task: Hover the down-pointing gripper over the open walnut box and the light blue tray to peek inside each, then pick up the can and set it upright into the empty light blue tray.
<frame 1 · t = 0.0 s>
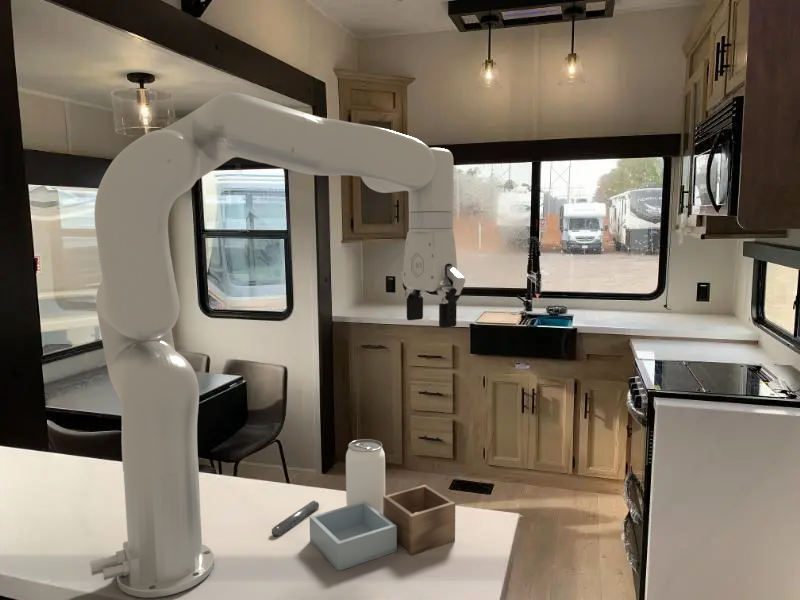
hand: (430, 323, 105), 31 cm above the kitchen island, fingers open, 9 cm apart
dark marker: (296, 522, 99), on the kitchen island
walnut box: (418, 536, 94), on the kitchen island
can: (366, 515, 101), on the kitchen island
light blue tray: (352, 546, 91), on the kitchen island
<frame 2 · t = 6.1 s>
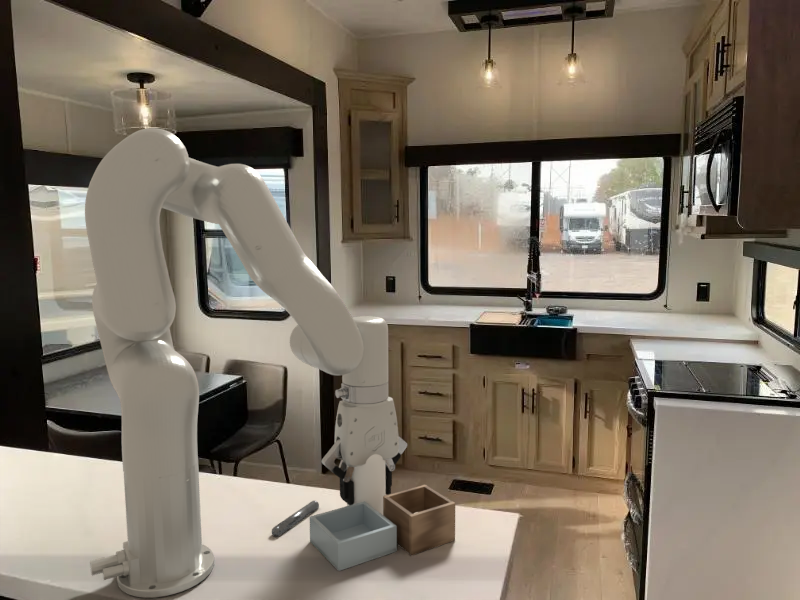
hand: (366, 495, 101), 3 cm above the kitchen island, fingers closed on can, 6 cm apart
can: (366, 514, 101), on the kitchen island, touching gripper
everything else where it was.
when the fingers open (6 cm above the kitchen island, at t = 11.6 s): can drops 2 cm, resting on light blue tray.
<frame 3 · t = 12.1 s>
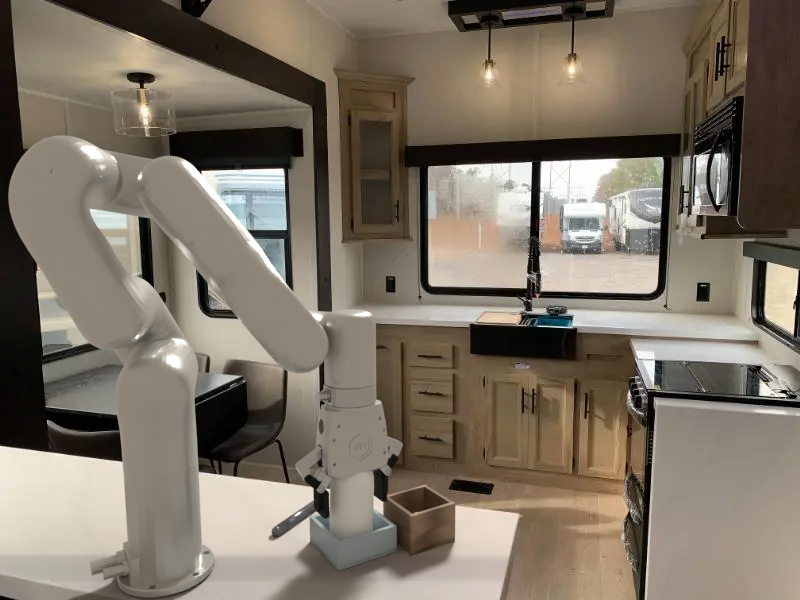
hand: (352, 506, 90), 6 cm above the kitchen island, fingers open, 9 cm apart
can: (351, 543, 91), point 1 cm above the kitchen island, touching light blue tray
everything else where it was.
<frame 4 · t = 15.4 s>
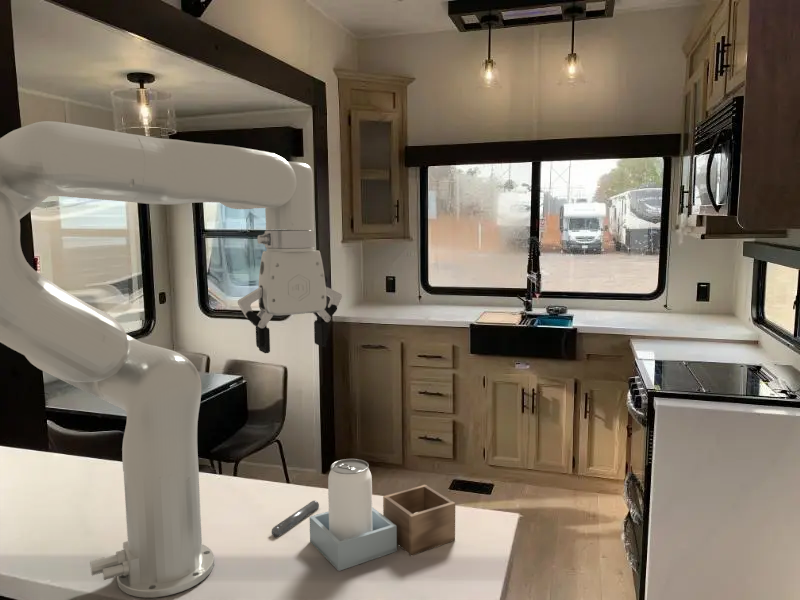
hand: (293, 348, 98), 28 cm above the kitchen island, fingers open, 9 cm apart
nothing on the kitchen island moved.
at the end: can 0.2 cm off-centre on the light blue tray, point 0.4 cm above the light blue tray's base; can tilted 0°; the gripper is holding nothing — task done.
